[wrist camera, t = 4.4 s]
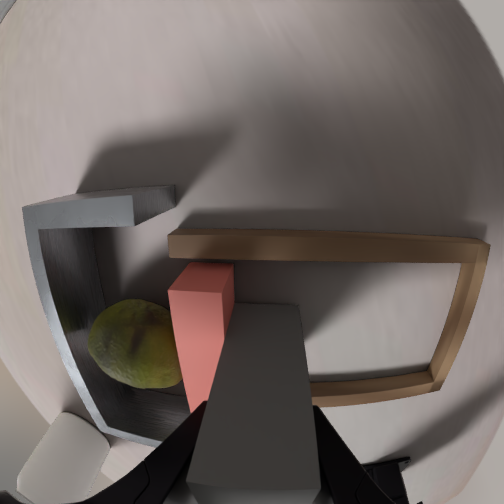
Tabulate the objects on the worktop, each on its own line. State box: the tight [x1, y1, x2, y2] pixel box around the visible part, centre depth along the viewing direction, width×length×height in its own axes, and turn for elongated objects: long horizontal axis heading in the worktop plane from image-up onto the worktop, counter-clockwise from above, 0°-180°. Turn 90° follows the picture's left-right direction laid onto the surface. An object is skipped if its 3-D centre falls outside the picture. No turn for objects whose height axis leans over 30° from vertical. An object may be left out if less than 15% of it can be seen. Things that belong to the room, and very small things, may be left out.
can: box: [15, 412, 110, 504], centre depth 14 cm, size 6×6×12 cm
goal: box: [22, 185, 191, 448], centre depth 12 cm, size 14×6×4 cm, turn 0°
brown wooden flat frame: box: [168, 229, 490, 407], centre depth 13 cm, size 10×16×1 cm, turn 90°
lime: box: [88, 299, 183, 389], centre depth 12 cm, size 4×5×5 cm
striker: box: [168, 262, 321, 504], centre depth 9 cm, size 7×5×9 cm
